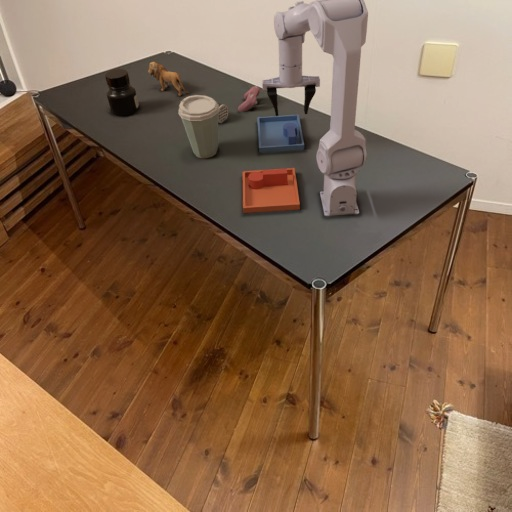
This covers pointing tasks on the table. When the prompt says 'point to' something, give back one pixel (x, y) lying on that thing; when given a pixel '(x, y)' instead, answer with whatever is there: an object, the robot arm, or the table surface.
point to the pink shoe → (249, 99)
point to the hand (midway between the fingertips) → (291, 113)
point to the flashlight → (222, 111)
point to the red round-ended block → (268, 178)
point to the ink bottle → (121, 93)
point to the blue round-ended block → (290, 132)
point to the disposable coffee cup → (201, 124)
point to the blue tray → (278, 134)
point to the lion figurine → (165, 77)
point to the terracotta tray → (271, 195)
